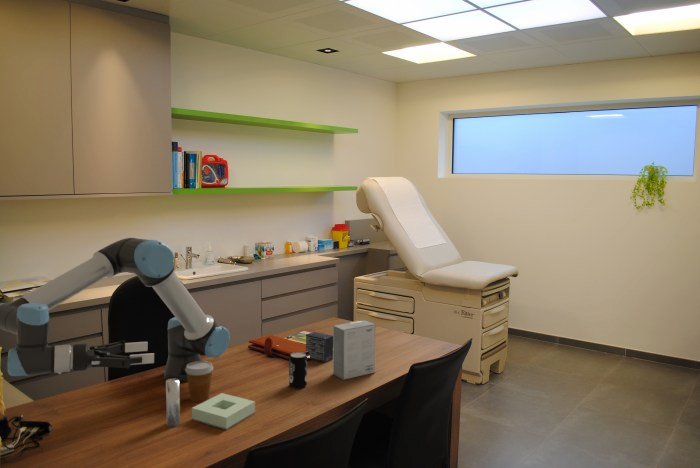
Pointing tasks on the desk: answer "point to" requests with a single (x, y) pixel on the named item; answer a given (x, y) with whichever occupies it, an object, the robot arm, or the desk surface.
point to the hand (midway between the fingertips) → (150, 351)
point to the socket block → (223, 411)
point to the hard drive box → (353, 349)
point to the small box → (319, 346)
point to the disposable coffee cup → (199, 380)
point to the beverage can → (298, 370)
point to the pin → (173, 402)
